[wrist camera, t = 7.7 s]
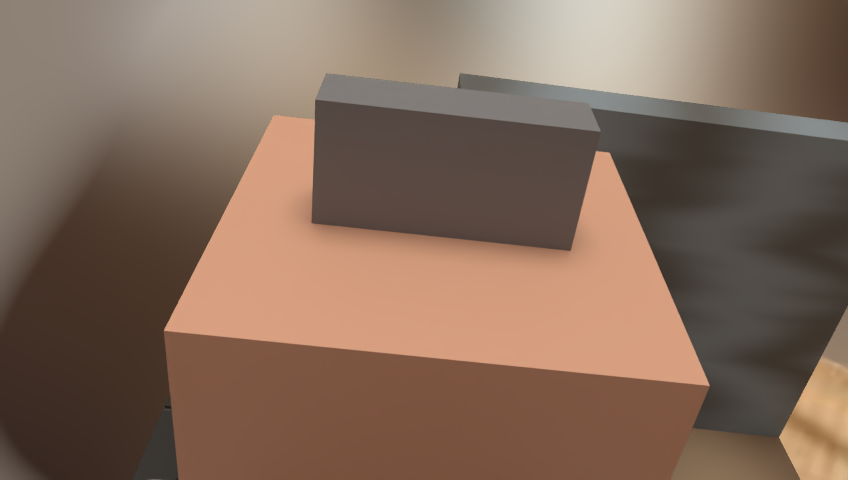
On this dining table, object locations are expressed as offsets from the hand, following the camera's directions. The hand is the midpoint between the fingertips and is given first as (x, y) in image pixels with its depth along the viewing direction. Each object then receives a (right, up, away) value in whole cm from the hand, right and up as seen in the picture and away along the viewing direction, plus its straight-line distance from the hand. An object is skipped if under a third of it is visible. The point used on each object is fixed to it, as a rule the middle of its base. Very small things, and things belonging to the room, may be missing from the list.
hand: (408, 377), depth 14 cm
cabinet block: (-1, -7, +1) cm, 8 cm away
